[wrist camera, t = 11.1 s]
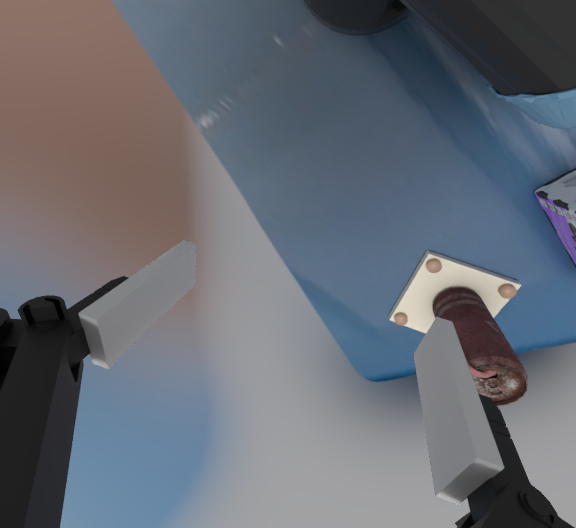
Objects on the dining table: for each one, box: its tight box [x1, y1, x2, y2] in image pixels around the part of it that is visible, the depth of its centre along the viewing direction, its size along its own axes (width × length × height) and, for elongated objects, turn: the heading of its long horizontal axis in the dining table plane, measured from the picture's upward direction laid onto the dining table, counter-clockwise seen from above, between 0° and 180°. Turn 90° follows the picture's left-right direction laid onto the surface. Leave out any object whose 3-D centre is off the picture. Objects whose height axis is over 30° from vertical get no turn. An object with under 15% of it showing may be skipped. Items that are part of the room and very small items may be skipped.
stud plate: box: [389, 250, 521, 333], centre depth 40 cm, size 12×12×2 cm
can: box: [432, 288, 527, 406], centre depth 33 cm, size 6×6×14 cm
